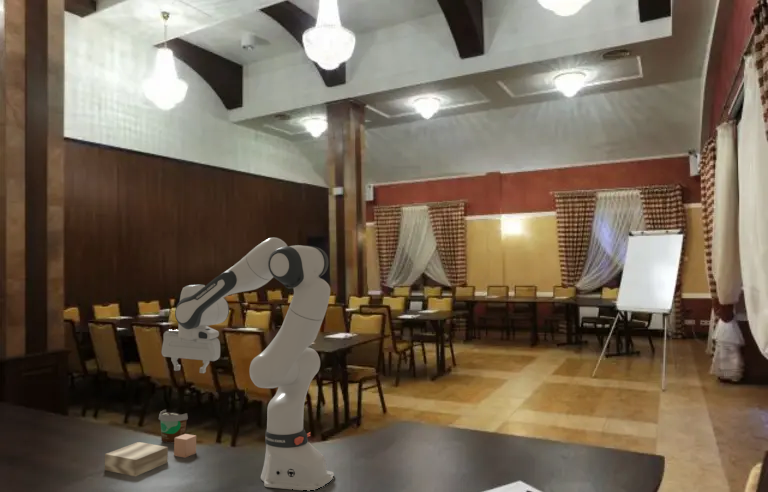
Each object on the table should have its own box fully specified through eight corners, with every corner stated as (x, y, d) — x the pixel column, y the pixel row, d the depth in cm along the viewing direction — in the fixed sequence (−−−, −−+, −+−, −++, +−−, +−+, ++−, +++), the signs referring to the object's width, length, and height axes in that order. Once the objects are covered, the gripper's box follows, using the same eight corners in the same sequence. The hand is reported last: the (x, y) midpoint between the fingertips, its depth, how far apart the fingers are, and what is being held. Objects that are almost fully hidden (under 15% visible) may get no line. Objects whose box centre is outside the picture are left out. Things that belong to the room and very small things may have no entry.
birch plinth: (167, 462, 176) (167, 447, 176) (135, 476, 164) (135, 459, 164) (137, 456, 180) (138, 441, 181) (104, 470, 168) (105, 453, 169)
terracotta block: (195, 453, 185) (196, 435, 185) (185, 457, 180) (185, 439, 181) (184, 451, 187) (185, 433, 187) (174, 455, 182) (174, 437, 182)
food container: (150, 440, 198) (151, 413, 199) (164, 435, 204) (165, 409, 204) (173, 445, 192) (174, 417, 193) (187, 440, 198) (188, 413, 198)
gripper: (158, 330, 182) (156, 370, 182) (214, 335, 179) (212, 376, 179) (169, 327, 188) (167, 366, 188) (223, 332, 185) (221, 372, 185)
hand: (189, 371), depth 183 cm, fingers open, 8 cm apart
